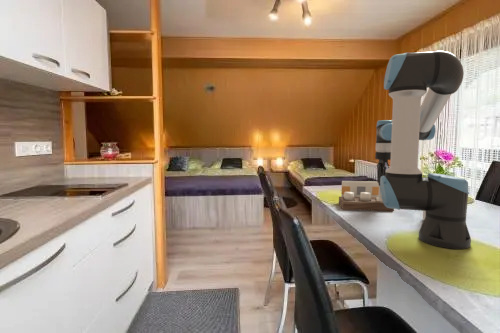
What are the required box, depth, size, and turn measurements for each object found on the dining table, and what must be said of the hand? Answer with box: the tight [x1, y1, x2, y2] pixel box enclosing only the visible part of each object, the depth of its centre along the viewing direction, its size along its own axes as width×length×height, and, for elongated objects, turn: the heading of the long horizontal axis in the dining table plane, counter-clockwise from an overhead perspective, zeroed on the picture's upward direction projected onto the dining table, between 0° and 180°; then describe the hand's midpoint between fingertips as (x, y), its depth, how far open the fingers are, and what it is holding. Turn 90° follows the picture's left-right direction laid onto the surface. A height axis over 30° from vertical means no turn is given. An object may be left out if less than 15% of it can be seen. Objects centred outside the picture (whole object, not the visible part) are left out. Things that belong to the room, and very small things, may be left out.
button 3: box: [344, 192, 354, 201], centre depth 149 cm, size 5×5×4 cm
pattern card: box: [340, 180, 379, 198], centre depth 157 cm, size 1×20×12 cm, turn 82°
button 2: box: [360, 192, 370, 201], centre depth 148 cm, size 5×5×4 cm
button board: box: [338, 196, 395, 212], centre depth 148 cm, size 12×24×4 cm, turn 82°
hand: (381, 197), depth 147 cm, fingers closed
